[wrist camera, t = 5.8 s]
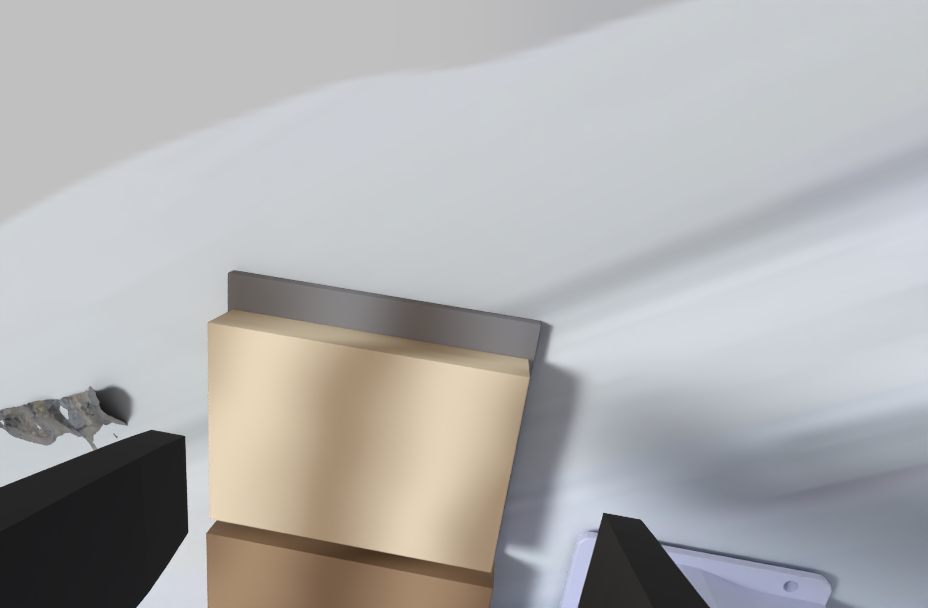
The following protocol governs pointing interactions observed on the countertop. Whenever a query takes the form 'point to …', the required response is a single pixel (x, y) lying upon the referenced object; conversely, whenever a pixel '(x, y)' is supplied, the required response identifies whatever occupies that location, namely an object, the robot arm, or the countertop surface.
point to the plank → (361, 437)
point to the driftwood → (57, 419)
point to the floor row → (332, 564)
